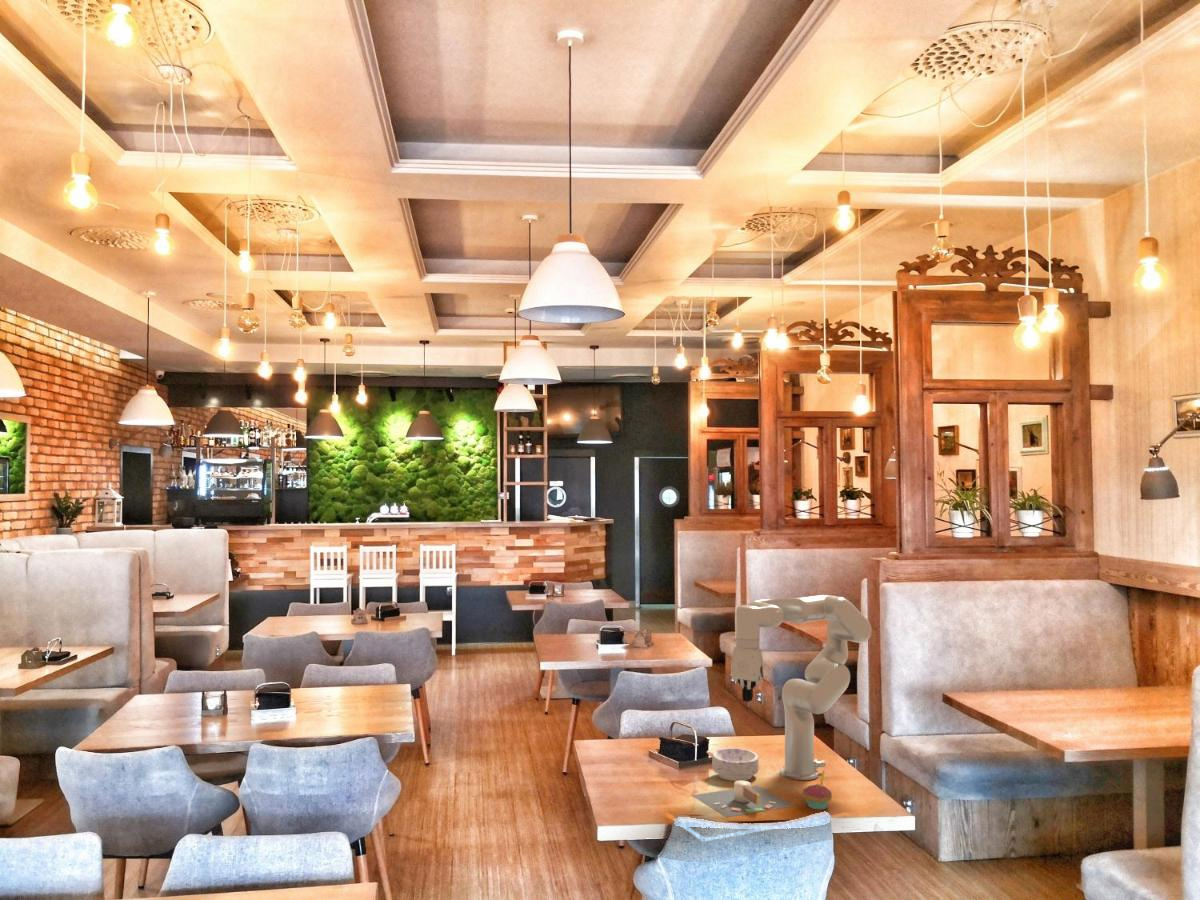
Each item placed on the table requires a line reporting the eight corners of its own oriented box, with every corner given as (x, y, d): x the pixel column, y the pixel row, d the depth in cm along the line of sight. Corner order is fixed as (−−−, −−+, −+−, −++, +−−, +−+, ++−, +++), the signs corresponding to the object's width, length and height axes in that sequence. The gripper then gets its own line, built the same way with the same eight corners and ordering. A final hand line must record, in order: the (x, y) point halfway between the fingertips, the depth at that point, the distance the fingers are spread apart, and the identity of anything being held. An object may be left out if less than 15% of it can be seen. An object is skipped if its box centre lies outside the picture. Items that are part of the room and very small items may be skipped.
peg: (731, 797, 283) (731, 781, 283) (746, 796, 284) (746, 779, 284) (751, 812, 270) (751, 795, 271) (766, 810, 272) (766, 793, 272)
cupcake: (827, 804, 281) (827, 764, 281) (835, 814, 272) (835, 773, 273) (799, 804, 281) (799, 764, 281) (806, 814, 272) (806, 773, 273)
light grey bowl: (726, 788, 295) (726, 763, 295) (703, 774, 309) (704, 750, 309) (767, 783, 300) (767, 758, 301) (743, 769, 315) (743, 745, 315)
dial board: (756, 788, 295) (756, 783, 295) (795, 809, 277) (795, 804, 277) (691, 798, 285) (691, 794, 285) (726, 820, 267) (726, 816, 267)
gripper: (722, 642, 302) (721, 699, 301) (761, 648, 292) (761, 706, 291) (734, 639, 307) (734, 695, 307) (773, 645, 298) (773, 702, 297)
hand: (747, 700), depth 299 cm, fingers closed
